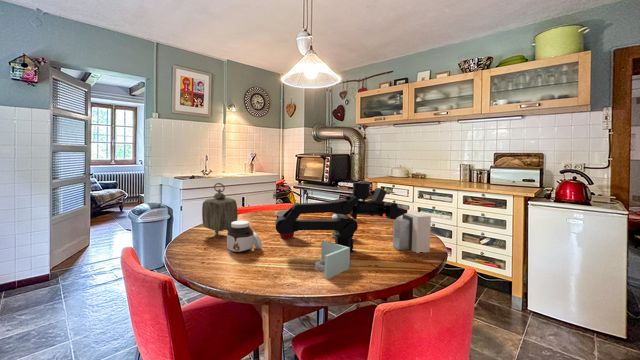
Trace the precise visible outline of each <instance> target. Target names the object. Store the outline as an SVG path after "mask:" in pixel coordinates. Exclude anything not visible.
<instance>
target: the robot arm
mask: <svg viewBox="0 0 640 360" xmlns="http://www.w3.org/2000/svg"><path fill="white" fill-rule="evenodd" d="M370 189H371V183H370V182H365V181H359V182H358V181H357V182H356V181H353V182H352V193H351V194H349V195H347V196H345V197H344V198H337V199H333V200H331V201H323V202H304V203H303V202H302V203H301V202H296V203H294V204H293V205H292V206H291V207H290V208H289V209H287V210H288V211H287V212H286V213H285V214H284V215H283V216H279V217H278V218H277V217H276V219H275V220H274V226H275V230H276V232H277V233H278V234H279V235H280V234H288V233H293V232H294V233H295V232H298V231H332V230H335V232H336V233H337V235H335V237H334V243H335V244H339V245H342V246H346V247H350V253H354V251H355V250H354V239H353V238H354V237H353V236H354V235H355V233H356V232H357V230H358V228H359V227H358V226H359V224H358V222H357V221H356V220H357V218H358V215H361V216H370V217H374V216H376V217H384V216H385V218H386V219H389V220H394V219H396V218H399V216H401V215H403V214H406V213H407V210H408V209H405V208H402V207H399V206H398V203H395V202H387V203H386V204H385V201H384V200H385V197H386V195H387V193H388V192H387V191H386V190H385V189H383V188H381V187H376V188H374V189H372V190H370ZM369 197H371V199H368V198H369ZM367 199H368V200H367ZM323 213H330V214H342V215H337V218H336V219H332V218H331V219H330V218H329V219H325V218H322V219H318V218H317V219H306V218H305V219H304V218H303V219H302V218H301V219H298V218H299V217H300V216H301V215H302V214H303V215H305V214H306V215H307V214H308V215H309V214H323Z"/></svg>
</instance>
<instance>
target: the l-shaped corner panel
mask: <svg viewBox="0 0 640 360" xmlns="http://www.w3.org/2000/svg"><path fill="white" fill-rule="evenodd" d="M320 250H321V257H320V260H317V261H315V263H314V269H315V270H317V271H319V272H323V273H324V274H323V275H324V279H325V280H328V279H330V278H333V277H334V276H337V275H339V274H340V273H343V272H344V271H347V270H349V269H350V263H351V262H350V258H351V257H350V256H351V252H350V247H346V246H342V245H339V244H335V242H334V243H333V242H330V241H327V240H321V249H320Z"/></svg>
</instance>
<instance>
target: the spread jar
mask: <svg viewBox="0 0 640 360" xmlns="http://www.w3.org/2000/svg"><path fill="white" fill-rule="evenodd" d="M226 245H227V248H228V250H229V252H230V253H232V254H235V255H244V254H247V253H249V252H250V251H252V250H253V248H254V247H255V248H256V250H260V249H261V248H263V243H262V240H261V238H260V236H259V235H258V234H257V233H256V232H254V231H253V229H252V227H250V221H248V220H237V221H234V222H232V223H231V228H230V229H229V231H227V233H226Z"/></svg>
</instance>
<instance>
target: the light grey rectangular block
mask: <svg viewBox="0 0 640 360" xmlns="http://www.w3.org/2000/svg"><path fill="white" fill-rule="evenodd" d="M392 228H393V232H392V247H393V248H395V249H397V250H398V251H404V250H410V246H411V219H409V218H399V217H397V218H396V219H393V227H392Z"/></svg>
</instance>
